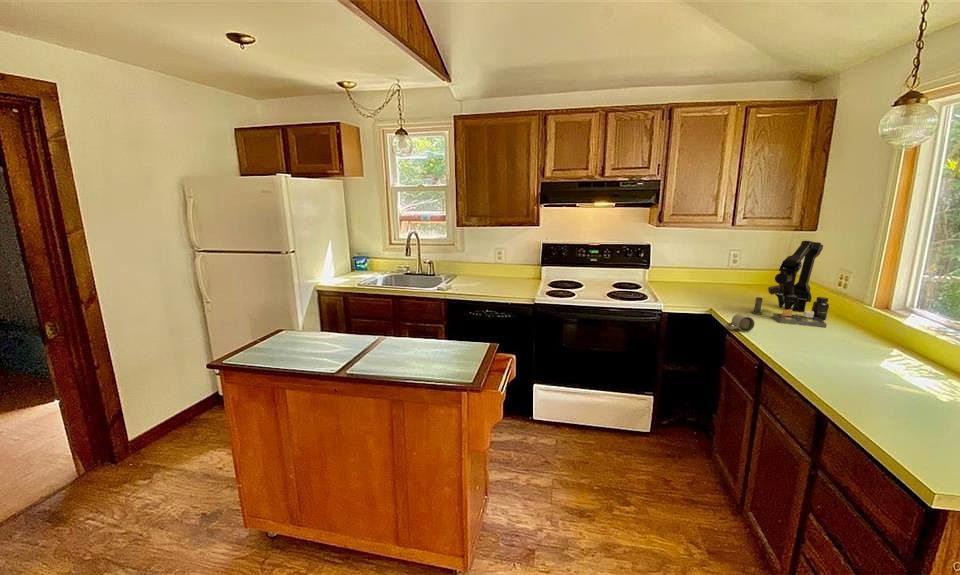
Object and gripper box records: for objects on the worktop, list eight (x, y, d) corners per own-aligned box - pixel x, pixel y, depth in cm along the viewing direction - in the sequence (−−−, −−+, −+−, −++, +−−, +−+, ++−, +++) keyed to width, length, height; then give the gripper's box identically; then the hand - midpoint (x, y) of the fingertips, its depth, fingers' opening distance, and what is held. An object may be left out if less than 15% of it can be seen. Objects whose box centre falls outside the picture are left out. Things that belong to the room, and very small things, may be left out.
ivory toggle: (803, 315, 225) (804, 310, 225) (811, 316, 224) (812, 310, 223) (804, 316, 223) (806, 311, 223) (813, 317, 222) (814, 311, 222)
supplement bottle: (819, 321, 224) (824, 299, 221) (806, 317, 231) (811, 296, 228) (829, 320, 226) (834, 298, 223) (816, 316, 232) (820, 295, 230)
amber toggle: (782, 314, 227) (783, 308, 227) (790, 315, 226) (791, 309, 226) (783, 315, 226) (784, 309, 225) (791, 316, 224) (792, 310, 224)
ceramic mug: (744, 326, 213) (746, 312, 212) (753, 332, 205) (756, 317, 204) (722, 326, 214) (724, 312, 212) (731, 331, 206) (733, 316, 204)
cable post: (750, 311, 240) (752, 296, 238) (760, 312, 238) (763, 297, 236) (752, 314, 235) (755, 298, 233) (763, 315, 233) (766, 299, 231)
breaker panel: (772, 316, 232) (773, 311, 231) (816, 320, 225) (817, 315, 225) (779, 322, 221) (780, 317, 220) (826, 327, 214) (827, 322, 214)
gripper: (766, 277, 239) (761, 303, 243) (776, 284, 222) (770, 312, 226) (789, 279, 236) (783, 306, 239) (801, 286, 219) (795, 315, 222)
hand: (782, 309), depth 232 cm, fingers open, 9 cm apart
